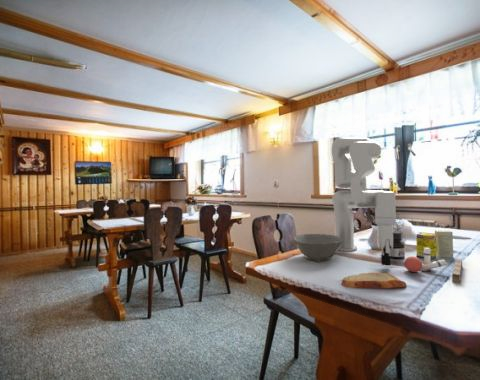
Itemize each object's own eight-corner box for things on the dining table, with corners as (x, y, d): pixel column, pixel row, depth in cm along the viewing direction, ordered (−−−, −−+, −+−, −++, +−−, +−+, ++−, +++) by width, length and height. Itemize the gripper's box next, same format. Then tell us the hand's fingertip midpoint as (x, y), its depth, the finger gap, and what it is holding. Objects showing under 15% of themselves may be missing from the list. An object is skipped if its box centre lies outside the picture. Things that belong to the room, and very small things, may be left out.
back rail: (459, 283, 94) (459, 274, 94) (452, 282, 96) (452, 273, 96) (462, 266, 112) (462, 259, 112) (455, 265, 114) (455, 258, 114)
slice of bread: (337, 286, 96) (336, 275, 96) (358, 273, 108) (358, 264, 108) (392, 301, 83) (392, 289, 83) (409, 285, 95) (409, 274, 95)
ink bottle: (392, 260, 124) (392, 234, 124) (378, 255, 132) (378, 231, 132) (410, 258, 126) (409, 232, 126) (395, 253, 135) (394, 229, 134)
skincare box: (451, 255, 129) (450, 230, 128) (453, 258, 125) (453, 231, 124) (434, 254, 131) (434, 229, 131) (436, 256, 127) (436, 231, 127)
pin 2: (421, 266, 107) (444, 260, 104) (419, 264, 109) (442, 258, 106) (423, 272, 107) (447, 265, 104) (422, 270, 109) (445, 263, 106)
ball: (426, 269, 103) (413, 277, 106) (425, 261, 108) (413, 270, 111) (412, 258, 104) (400, 267, 107) (412, 251, 109) (401, 259, 112)
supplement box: (429, 259, 123) (429, 236, 123) (416, 256, 128) (415, 234, 128) (437, 257, 126) (436, 234, 126) (423, 255, 131) (423, 232, 131)
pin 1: (424, 269, 110) (424, 248, 110) (423, 267, 112) (423, 247, 112) (431, 270, 109) (431, 249, 109) (429, 268, 111) (429, 247, 111)
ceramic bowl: (284, 260, 128) (284, 239, 128) (308, 250, 145) (308, 232, 145) (329, 269, 113) (329, 245, 113) (350, 257, 130) (350, 236, 130)
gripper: (373, 218, 121) (374, 259, 121) (377, 223, 107) (378, 269, 107) (392, 218, 118) (393, 260, 118) (399, 223, 104) (399, 271, 104)
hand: (385, 264), depth 113 cm, fingers closed
